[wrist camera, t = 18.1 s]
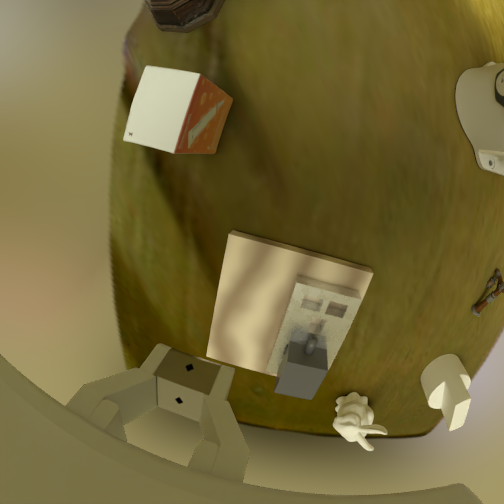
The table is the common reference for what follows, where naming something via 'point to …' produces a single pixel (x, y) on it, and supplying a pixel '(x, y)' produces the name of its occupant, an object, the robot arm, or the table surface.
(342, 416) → the rabbit
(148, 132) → the small box
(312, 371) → the plug
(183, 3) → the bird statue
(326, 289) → the socket
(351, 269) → the board
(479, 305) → the wooden post with brackets
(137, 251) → the table surface
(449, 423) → the cylinder with rectangular tab
